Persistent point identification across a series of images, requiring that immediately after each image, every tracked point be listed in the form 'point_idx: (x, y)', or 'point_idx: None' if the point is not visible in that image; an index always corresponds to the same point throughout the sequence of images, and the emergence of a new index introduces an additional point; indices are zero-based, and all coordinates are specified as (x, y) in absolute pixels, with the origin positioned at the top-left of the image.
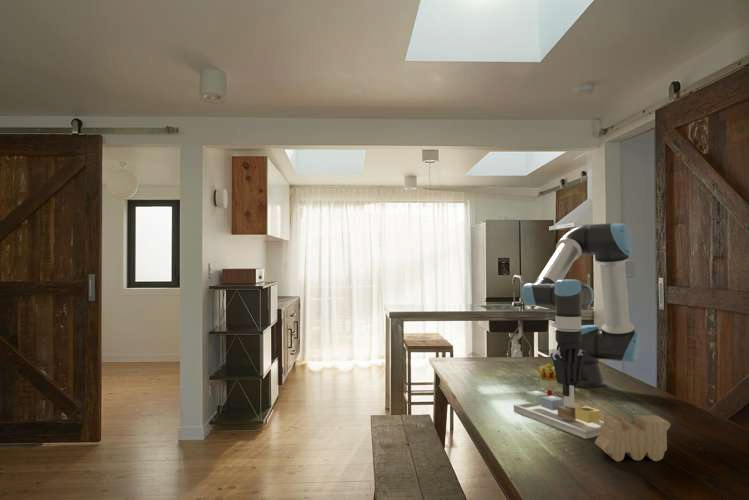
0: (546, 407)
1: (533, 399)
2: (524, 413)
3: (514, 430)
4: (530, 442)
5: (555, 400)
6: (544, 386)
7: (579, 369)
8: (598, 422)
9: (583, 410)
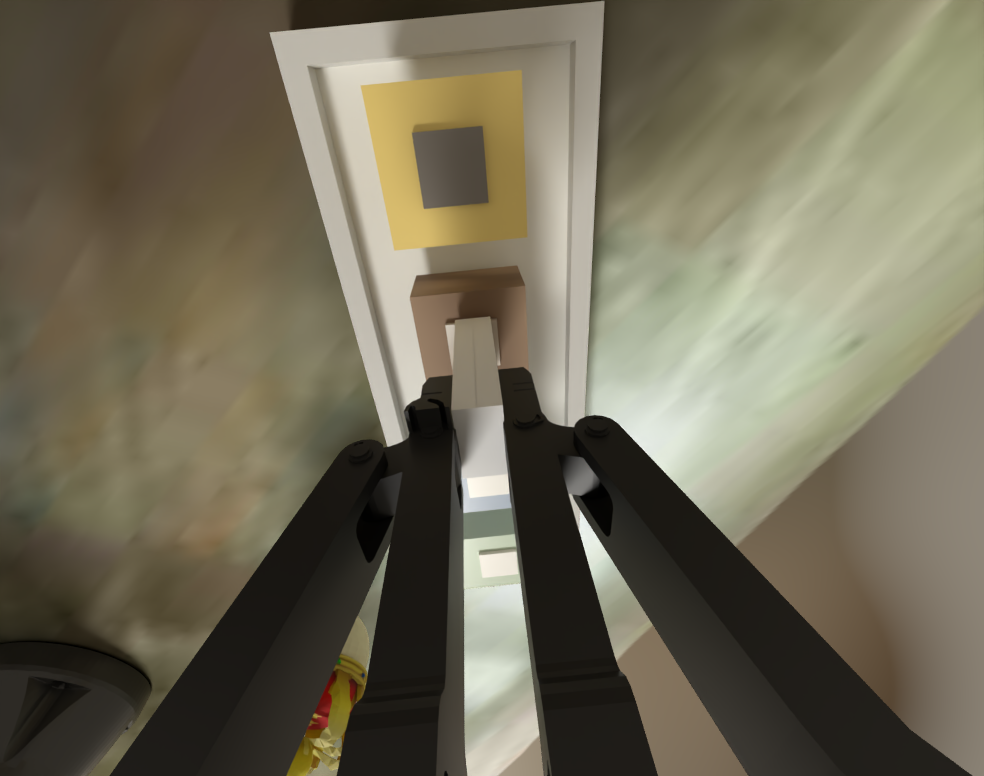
0: None
1: None
2: None
3: (791, 324)
4: (914, 126)
5: None
6: (364, 629)
7: (313, 574)
8: (340, 182)
9: (508, 157)
